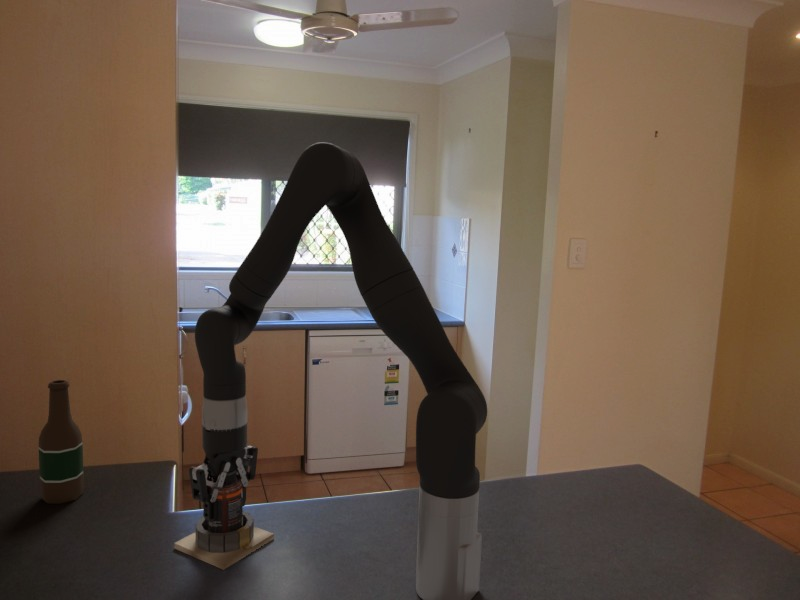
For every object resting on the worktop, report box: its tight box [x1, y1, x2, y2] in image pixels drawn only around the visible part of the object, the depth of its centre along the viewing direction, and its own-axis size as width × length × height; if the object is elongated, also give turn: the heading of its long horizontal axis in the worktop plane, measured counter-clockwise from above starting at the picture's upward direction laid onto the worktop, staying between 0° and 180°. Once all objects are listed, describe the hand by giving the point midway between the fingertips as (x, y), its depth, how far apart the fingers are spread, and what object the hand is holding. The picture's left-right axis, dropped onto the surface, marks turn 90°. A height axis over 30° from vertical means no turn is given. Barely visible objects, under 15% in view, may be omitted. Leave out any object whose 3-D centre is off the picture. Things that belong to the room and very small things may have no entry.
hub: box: [173, 510, 275, 571], centre depth 108 cm, size 12×12×4 cm
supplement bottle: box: [208, 470, 244, 533], centre depth 108 cm, size 6×6×11 cm
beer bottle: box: [38, 379, 85, 505], centre depth 123 cm, size 8×8×24 cm
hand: (225, 512), depth 108 cm, fingers closed on supplement bottle, 6 cm apart
